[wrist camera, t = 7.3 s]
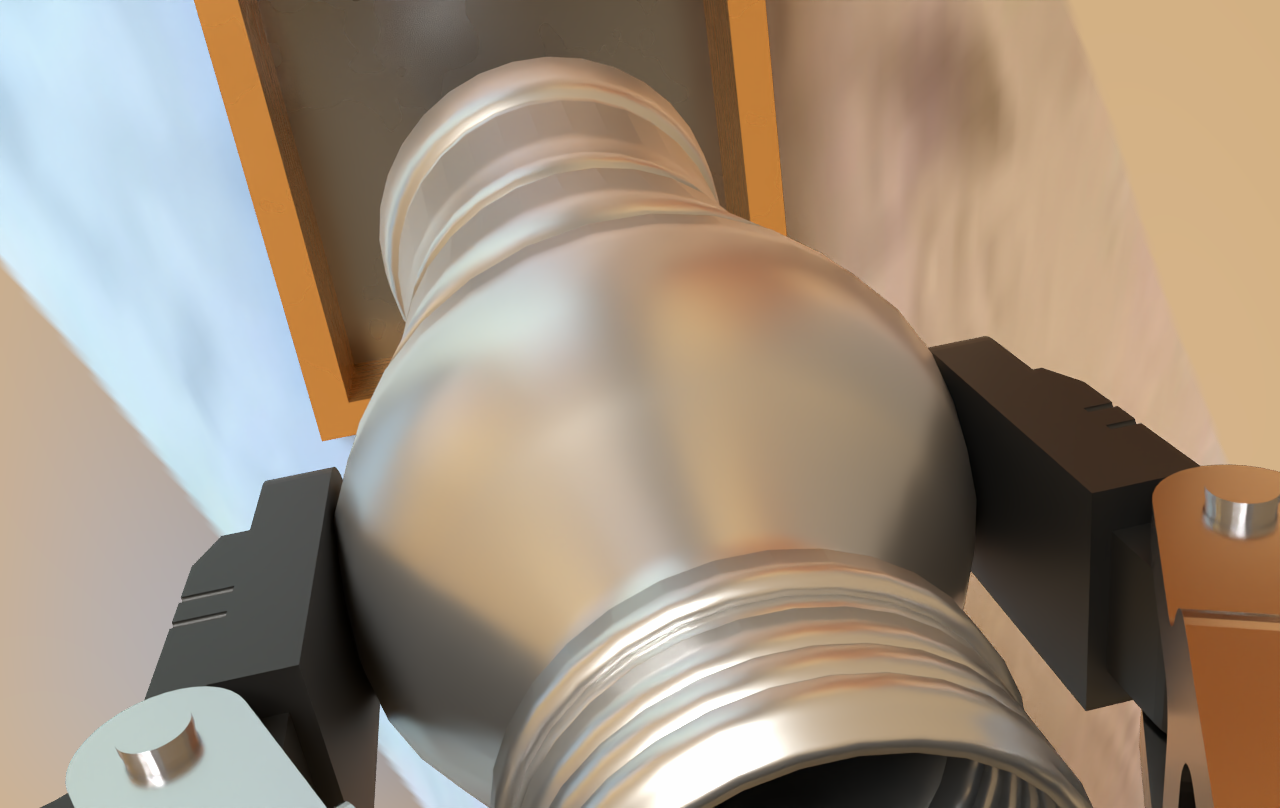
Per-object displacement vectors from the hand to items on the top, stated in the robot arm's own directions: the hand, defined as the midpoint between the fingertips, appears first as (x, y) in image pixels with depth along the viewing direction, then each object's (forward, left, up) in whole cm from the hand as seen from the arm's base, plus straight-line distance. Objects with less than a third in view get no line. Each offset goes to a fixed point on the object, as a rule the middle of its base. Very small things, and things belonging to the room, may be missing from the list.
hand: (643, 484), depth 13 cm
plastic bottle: (0, 0, -14) cm, 14 cm away
